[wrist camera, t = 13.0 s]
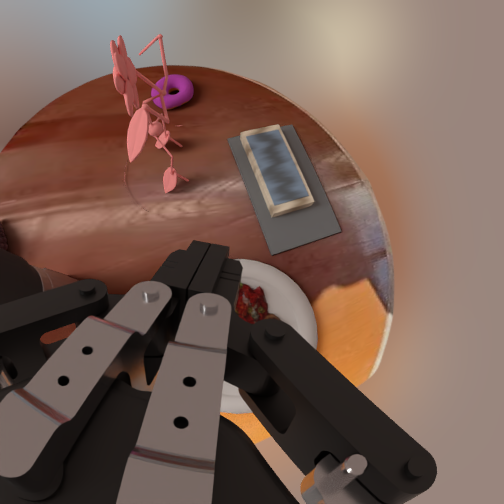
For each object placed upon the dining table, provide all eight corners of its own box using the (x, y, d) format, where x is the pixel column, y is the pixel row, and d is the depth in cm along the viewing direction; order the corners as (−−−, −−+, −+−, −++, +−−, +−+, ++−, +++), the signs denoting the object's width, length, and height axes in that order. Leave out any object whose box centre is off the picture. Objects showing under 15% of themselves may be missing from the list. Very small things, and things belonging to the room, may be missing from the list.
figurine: (181, 118, 63) (162, -5, 29) (199, 215, 58) (174, 96, 24) (120, 133, 61) (70, 22, 27) (128, 232, 56) (37, 141, 22)
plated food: (195, 428, 49) (193, 434, 46) (141, 289, 54) (136, 287, 51) (333, 376, 54) (339, 379, 51) (283, 240, 59) (286, 236, 56)
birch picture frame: (273, 213, 56) (240, 131, 60) (271, 217, 59) (239, 138, 62) (314, 201, 58) (278, 123, 61) (311, 205, 60) (276, 130, 64)
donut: (159, 117, 63) (156, 105, 58) (148, 92, 64) (145, 80, 60) (200, 102, 64) (199, 90, 60) (186, 78, 66) (184, 66, 61)
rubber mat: (340, 232, 60) (341, 231, 60) (271, 255, 58) (271, 254, 57) (291, 126, 65) (292, 124, 64) (227, 140, 62) (227, 138, 62)
